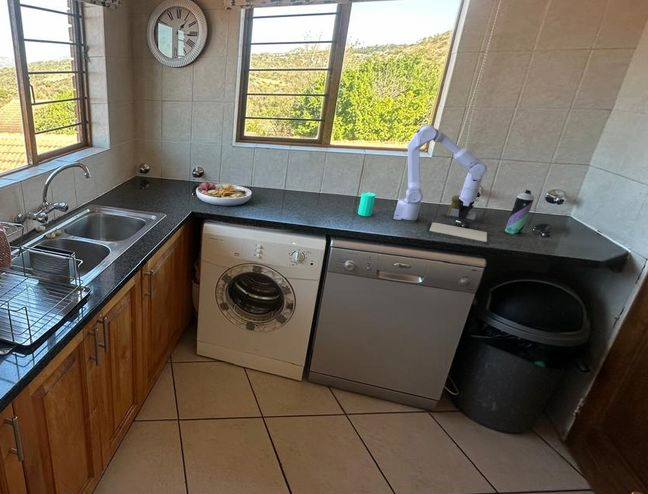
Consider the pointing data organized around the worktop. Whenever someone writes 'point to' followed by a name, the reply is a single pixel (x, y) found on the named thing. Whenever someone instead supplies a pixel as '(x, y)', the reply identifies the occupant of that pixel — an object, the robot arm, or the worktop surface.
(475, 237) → the memo board
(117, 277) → the worktop surface
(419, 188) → the robot arm
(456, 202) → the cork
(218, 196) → the bowl
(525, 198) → the spray can
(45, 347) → the worktop surface
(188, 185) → the worktop surface
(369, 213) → the candle
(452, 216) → the eraser
